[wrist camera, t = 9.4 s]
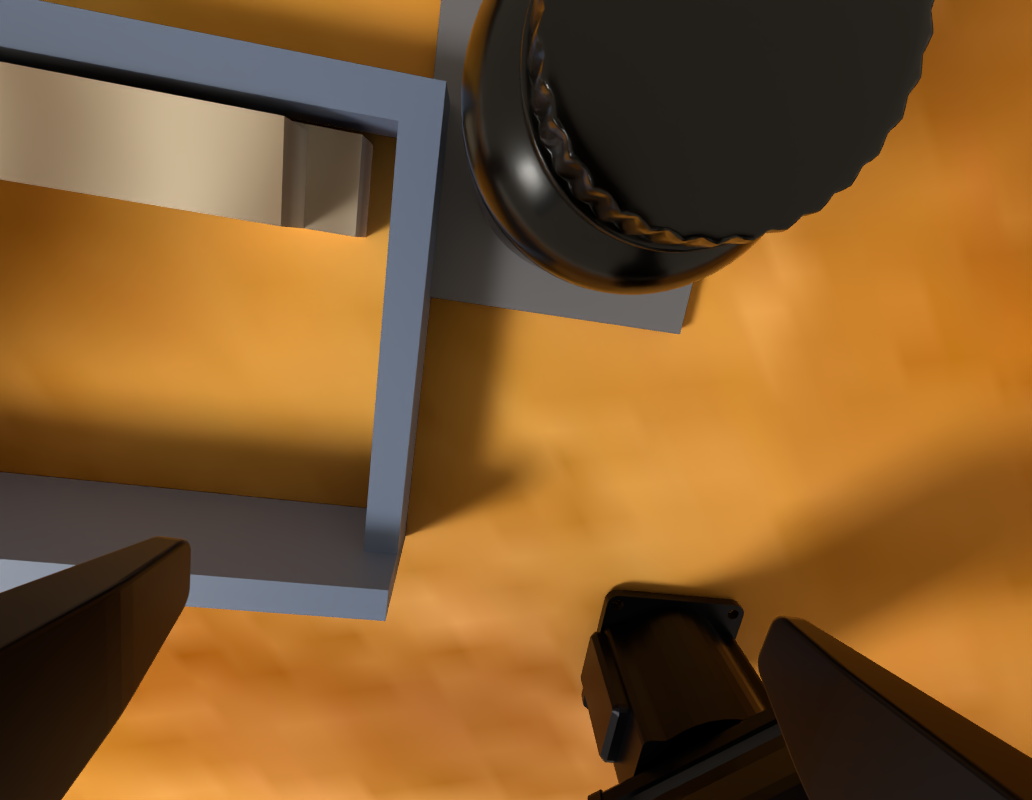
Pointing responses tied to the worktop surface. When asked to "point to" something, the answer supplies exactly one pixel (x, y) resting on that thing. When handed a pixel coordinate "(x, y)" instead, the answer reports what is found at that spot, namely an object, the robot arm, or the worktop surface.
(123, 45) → the blue-grey rectangular tray
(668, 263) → the supplement bottle
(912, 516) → the worktop surface
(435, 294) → the mat
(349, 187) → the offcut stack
